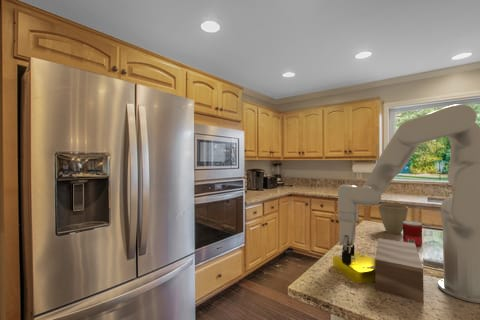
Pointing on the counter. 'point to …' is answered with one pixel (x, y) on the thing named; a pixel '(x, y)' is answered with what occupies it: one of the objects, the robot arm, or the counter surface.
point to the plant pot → (393, 217)
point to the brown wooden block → (399, 269)
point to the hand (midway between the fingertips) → (348, 258)
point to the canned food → (412, 232)
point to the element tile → (357, 268)
